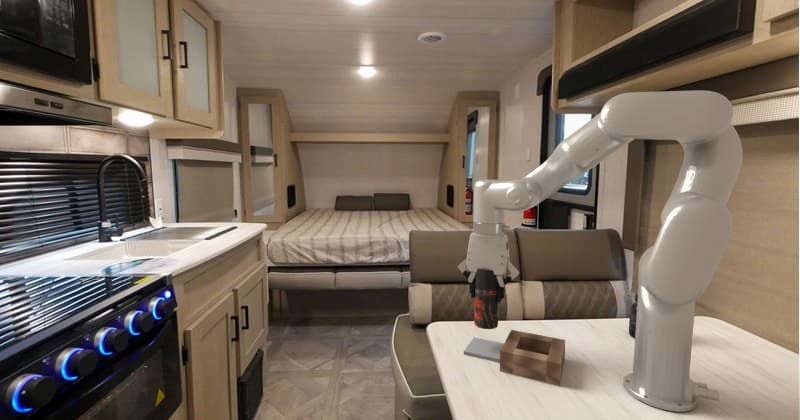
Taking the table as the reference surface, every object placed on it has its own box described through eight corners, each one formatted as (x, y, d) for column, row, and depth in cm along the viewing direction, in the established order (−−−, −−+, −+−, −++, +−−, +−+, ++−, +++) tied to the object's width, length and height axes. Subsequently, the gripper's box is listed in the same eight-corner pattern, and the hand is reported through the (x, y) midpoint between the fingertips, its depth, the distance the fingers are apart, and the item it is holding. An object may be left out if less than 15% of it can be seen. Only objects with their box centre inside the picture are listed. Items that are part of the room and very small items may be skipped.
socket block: (564, 359, 92) (565, 339, 92) (560, 386, 81) (561, 364, 80) (510, 347, 98) (511, 329, 98) (499, 371, 87) (500, 350, 86)
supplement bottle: (662, 343, 100) (665, 300, 99) (634, 341, 102) (637, 298, 100) (650, 332, 107) (653, 292, 106) (624, 330, 108) (627, 290, 107)
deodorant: (500, 329, 93) (502, 270, 91) (476, 329, 93) (477, 270, 92) (494, 319, 99) (496, 264, 97) (472, 319, 99) (473, 264, 97)
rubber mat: (507, 347, 99) (507, 344, 99) (499, 362, 91) (499, 359, 91) (473, 340, 103) (473, 337, 103) (463, 354, 95) (463, 351, 95)
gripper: (526, 229, 93) (524, 299, 95) (460, 224, 101) (459, 289, 103) (521, 234, 86) (518, 309, 88) (450, 228, 94) (449, 297, 96)
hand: (486, 297), depth 95 cm, fingers closed on deodorant, 6 cm apart
